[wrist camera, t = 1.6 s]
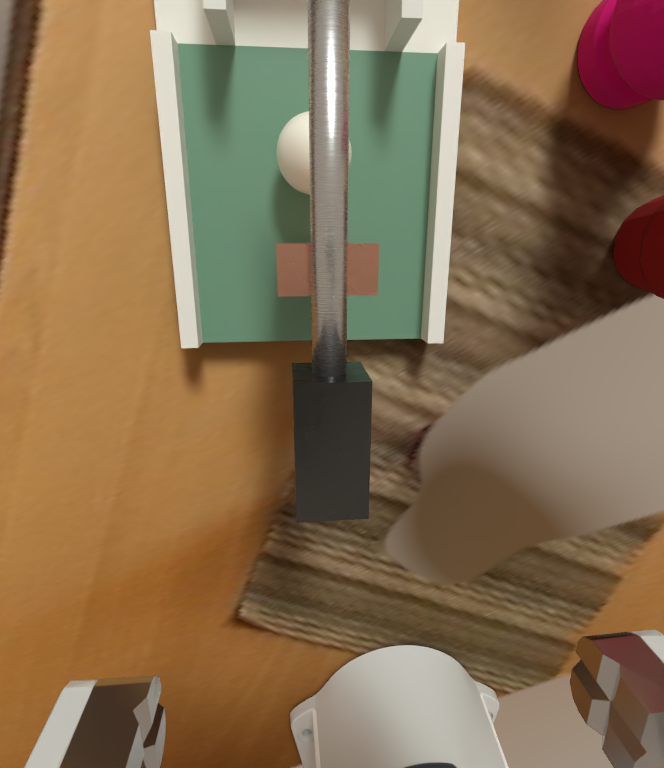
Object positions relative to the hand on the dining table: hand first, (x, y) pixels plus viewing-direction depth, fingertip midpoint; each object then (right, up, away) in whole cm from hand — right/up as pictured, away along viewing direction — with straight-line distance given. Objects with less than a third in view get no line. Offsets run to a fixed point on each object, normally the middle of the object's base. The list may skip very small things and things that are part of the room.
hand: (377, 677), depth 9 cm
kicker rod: (-2, +14, +18) cm, 23 cm away
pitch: (-2, +19, +19) cm, 27 cm away
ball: (-2, +18, +16) cm, 24 cm away
